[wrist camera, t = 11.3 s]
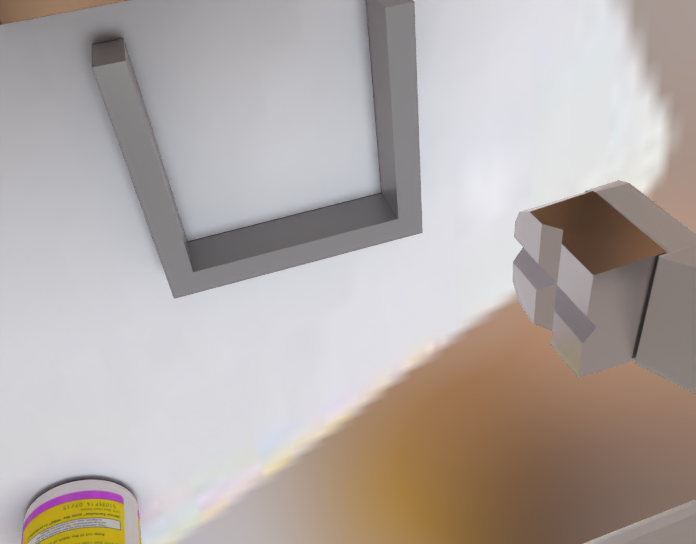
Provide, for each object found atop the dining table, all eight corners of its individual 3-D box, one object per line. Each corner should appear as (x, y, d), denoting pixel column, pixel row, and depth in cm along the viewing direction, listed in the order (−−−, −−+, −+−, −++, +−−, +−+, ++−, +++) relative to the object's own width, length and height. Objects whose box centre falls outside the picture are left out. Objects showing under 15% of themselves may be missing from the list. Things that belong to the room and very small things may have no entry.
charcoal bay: (169, 267, 33) (174, 298, 31) (92, 44, 26) (92, 67, 24) (404, 206, 35) (422, 232, 33) (392, -15, 28) (414, 1, 26)
